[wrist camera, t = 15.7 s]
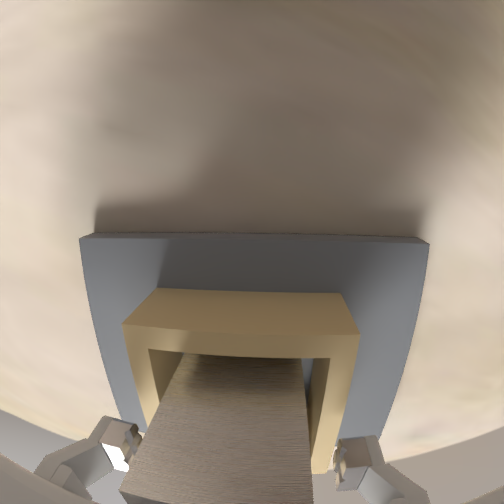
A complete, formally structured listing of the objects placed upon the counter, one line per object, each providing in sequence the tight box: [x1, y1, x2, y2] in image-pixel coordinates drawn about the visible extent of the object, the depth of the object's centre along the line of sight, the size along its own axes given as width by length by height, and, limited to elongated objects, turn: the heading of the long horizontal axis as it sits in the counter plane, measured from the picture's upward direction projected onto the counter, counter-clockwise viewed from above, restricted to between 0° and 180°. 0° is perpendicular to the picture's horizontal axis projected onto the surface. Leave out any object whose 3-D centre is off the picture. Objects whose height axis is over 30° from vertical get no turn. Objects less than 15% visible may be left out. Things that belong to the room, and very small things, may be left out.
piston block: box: [119, 353, 314, 504], centre depth 11 cm, size 5×5×10 cm
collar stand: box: [79, 232, 430, 474], centre depth 14 cm, size 18×14×6 cm
